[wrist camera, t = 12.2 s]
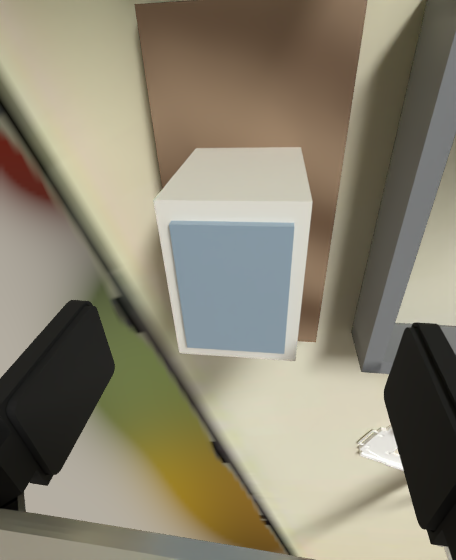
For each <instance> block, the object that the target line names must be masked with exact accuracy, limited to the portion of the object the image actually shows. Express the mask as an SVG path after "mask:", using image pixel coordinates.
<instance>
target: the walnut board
mask: <svg viewBox="0 0 456 560" xmlns="http://www.w3.org/2000/svg"><path fill="white" fill-rule="evenodd" d="M366 6H367V0H193V1H177V2H162V3H146V4H135V10H136V17H137V24H138V30H139V37H140V43H141V50H142V57H143V63H144V70H145V77H146V83H147V90H148V96H149V103H150V110H151V116H152V123H153V130H154V136H155V143H156V149H157V156H158V163H159V169H160V176H161V182H162V189H163V188H164V186H165V185H166V184H167V183H168V182H169V180H170V179H171V178H172V177H173V176H174V174H175V173H176V172H177V171H178V169H179V168H180V167H181V166H182V165H183V163H184V162H185V161H186V160H187V159H188V157H189V156H190V155H191V154H192V152H193V151H194V150H195V149H196V148H267V147H301V150H302V155H303V159H304V164H305V169H306V173H307V178H308V183H309V187H310V192H311V197H312V201H313V203H312V212H311V221H310V230H309V239H308V249H307V258H306V267H305V276H304V285H303V295H302V304H301V313H300V322H299V331H298V341H305V342H316V337H317V330H318V324H319V317H320V310H321V304H322V297H323V291H324V284H325V277H326V271H327V264H328V258H329V251H330V244H331V238H332V231H333V225H334V218H335V211H336V205H337V198H338V192H339V185H340V178H341V172H342V165H343V158H344V152H345V145H346V139H347V132H348V125H349V119H350V112H351V106H352V99H353V92H354V86H355V79H356V73H357V66H358V59H359V53H360V46H361V39H362V33H363V26H364V20H365V13H366Z"/></svg>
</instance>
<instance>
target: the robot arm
mask: <svg viewBox="0 0 456 560" xmlns="http://www.w3.org/2000/svg"><path fill="white" fill-rule="evenodd" d="M114 369H115V364H114V360H113V358H112V354H111V351H110V348H109V345H108V342H107V339H106V336H105V332H104V329H103V326H102V323H101V320H100V317H99V314H98V311H97V308H96V307H95V306H93V305H92V303H91V302H89V301H79V300H71V301H69V302H68V303H67V304H66V305H65V306H64V307H63V308H62V309H61V310H60V312H59V313H58V314H57V315H56V316H55V317H54V318H53V320H52V321H51V322H50V323H49V324H48V325H47V326H46V327H45V329H44V330H43V331H42V332H41V333H40V334H39V335H38V336H37V338H36V339H35V340H34V341H33V342H32V343H31V344H30V346H29V347H28V348H27V349H26V350H25V351H24V352H23V353H22V355H21V356H20V357H19V358H18V359H17V360H16V361H15V363H14V364H13V365H12V366H11V367H10V368H9V369H8V370H7V372H6V373H5V374H4V375H3V376H2V377H1V379H0V560H314V559H308V558H302V557H297V556H291V555H285V554H279V553H273V552H267V551H262V550H256V549H250V548H244V547H238V546H231V545H226V544H220V543H214V542H208V541H201V540H196V539H190V538H184V537H178V536H172V535H166V534H160V533H153V532H147V531H142V530H135V529H129V528H123V527H116V526H111V525H104V524H98V523H92V522H86V521H79V520H73V519H67V518H61V517H54V516H48V515H42V514H36V513H28V512H26V510H25V499H24V490H25V488H26V487H27V485H28V483H29V482H30V483H33V484H40V485H48V484H49V482H50V480H51V479H52V477H53V475H56V474H57V473H59V471H60V470H61V469H62V467H63V465H64V463H65V461H66V460H67V457H68V456H69V454H70V452H71V450H72V449H73V447H74V445H75V443H76V441H77V439H78V437H79V436H80V434H81V432H82V430H83V428H84V427H85V425H86V423H87V421H88V419H89V417H90V416H91V414H92V412H93V410H94V408H95V406H96V404H97V403H98V401H99V399H100V397H101V395H102V394H103V392H104V390H105V388H106V386H107V384H108V383H109V381H110V379H111V377H112V375H113V373H114ZM384 400H385V404H386V408H387V412H388V415H389V419H390V423H391V426H392V430H393V434H394V437H395V441H396V444H397V448H398V452H399V455H400V459H401V463H402V466H403V470H404V474H405V477H406V481H407V484H408V488H409V492H410V495H411V499H412V503H413V506H414V510H415V514H416V517H417V520H418V523H419V525H420V527H421V528H422V529H426V530H427V532H428V536H429V539H430V543H431V544H433V545H440V546H446V547H448V548H449V551H450V554H451V557H452V560H456V355H455V353H454V351H453V349H452V348H451V346H450V344H449V342H448V340H447V338H446V337H445V335H444V333H443V331H442V329H441V328H440V326H439V325H437V324H430V323H413V324H412V326H411V327H406V328H405V330H404V332H403V335H402V338H401V341H400V344H399V347H398V350H397V353H396V356H395V359H394V362H393V365H392V368H391V371H390V374H389V377H388V380H387V383H386V385H385V389H384Z"/></svg>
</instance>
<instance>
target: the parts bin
mask: <svg viewBox="0 0 456 560" xmlns="http://www.w3.org/2000/svg"><path fill="white" fill-rule="evenodd" d="M455 134H456V0H427V3H426V8H425V12H424V16H423V21H422V25H421V30H420V34H419V38H418V43H417V47H416V51H415V56H414V60H413V65H412V69H411V73H410V78H409V82H408V86H407V91H406V95H405V100H404V104H403V108H402V113H401V117H400V121H399V126H398V130H397V135H396V139H395V143H394V148H393V152H392V156H391V161H390V165H389V170H388V174H387V178H386V183H385V187H384V191H383V196H382V200H381V204H380V209H379V213H378V218H377V222H376V226H375V231H374V235H373V239H372V244H371V248H370V253H369V257H368V261H367V266H366V270H365V274H364V279H363V283H362V288H361V292H360V296H359V301H358V305H357V309H356V314H355V318H354V323H353V327H352V331H351V333H352V337H353V341H354V344H355V348H356V352H357V356H358V360H359V364H360V368H361V372H369V373H383V374H390V371H391V368H392V365H393V362H394V359H395V356H396V353H397V350H398V347H399V344H400V341H401V338H402V335H403V332H404V330H405V328H406V327H411V326H412V324H402V323H395V321H396V318H397V315H398V312H399V309H400V306H401V302H402V299H403V296H404V293H405V290H406V287H407V284H408V281H409V278H410V274H411V271H412V268H413V265H414V262H415V259H416V256H417V253H418V249H419V246H420V243H421V240H422V237H423V234H424V231H425V228H426V225H427V221H428V218H429V215H430V212H431V209H432V206H433V203H434V200H435V197H436V193H437V190H438V187H439V184H440V181H441V178H442V175H443V172H444V168H445V165H446V162H447V159H448V156H449V153H450V150H451V147H452V144H453V140H454V137H455ZM439 326H440V325H439ZM440 328H441V329H442V331H443V333H444V335H445V337H446V338H447V340H448V342H449V344H450V346H451V348H452V349H453V351H454V353H455V355H456V326H440Z"/></svg>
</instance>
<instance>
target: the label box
mask: <svg viewBox="0 0 456 560" xmlns="http://www.w3.org/2000/svg"><path fill="white" fill-rule="evenodd" d="M153 201H154V207H155V213H156V219H157V225H158V231H159V237H160V243H161V248H162V254H163V260H164V266H165V272H166V278H167V284H168V290H169V295H170V301H171V307H172V313H173V319H174V325H175V331H176V337H177V342H178V348H179V353H184V354H198V355H213V356H228V357H243V358H257V359H272V360H287V361H295V359H296V350H297V341H298V331H299V322H300V313H301V304H302V295H303V285H304V276H305V267H306V258H307V249H308V239H309V230H310V221H311V212H312V203H313V201H312V197H311V192H310V187H309V183H308V178H307V173H306V169H305V164H304V159H303V155H302V150H301V147H267V148H196V149H195V150H194V151H193V152H192V154H191V155H190V156H189V157H188V159H187V160H186V161H185V162H184V163H183V165H182V166H181V167H180V168H179V169H178V171H177V172H176V173H175V174H174V176H173V177H172V178H171V179H170V180H169V182H168V183H167V184H166V185H165V186H164V188H163V189H162V190H161V191H160V193H159V194H158V195H157V196H156V197H155V199H154V200H153Z"/></svg>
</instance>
